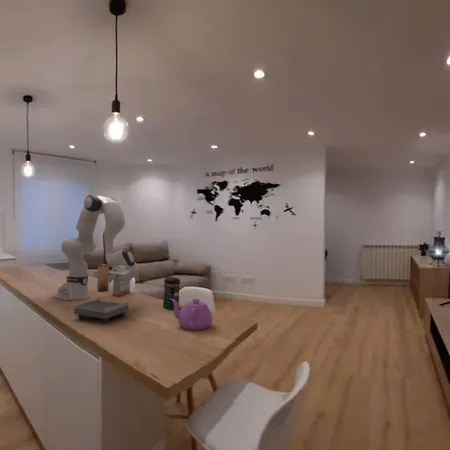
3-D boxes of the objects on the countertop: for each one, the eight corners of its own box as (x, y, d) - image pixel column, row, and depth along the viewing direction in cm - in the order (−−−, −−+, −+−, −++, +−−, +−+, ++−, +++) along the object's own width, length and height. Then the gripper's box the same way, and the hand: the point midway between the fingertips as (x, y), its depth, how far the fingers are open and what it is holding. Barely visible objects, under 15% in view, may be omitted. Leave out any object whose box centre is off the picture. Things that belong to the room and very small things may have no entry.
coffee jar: (160, 307, 202) (161, 276, 202) (171, 305, 208) (172, 275, 208) (171, 310, 196) (172, 278, 196) (181, 308, 202) (182, 277, 202)
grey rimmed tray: (73, 319, 171) (74, 304, 171) (98, 311, 188) (98, 297, 188) (105, 324, 165) (106, 309, 165) (128, 315, 182) (128, 302, 182)
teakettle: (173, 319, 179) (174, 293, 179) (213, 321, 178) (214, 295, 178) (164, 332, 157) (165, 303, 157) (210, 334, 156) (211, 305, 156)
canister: (94, 291, 175) (95, 264, 175) (102, 289, 180) (103, 263, 180) (103, 292, 173) (104, 265, 173) (110, 290, 178) (111, 264, 178)
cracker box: (120, 296, 226) (121, 265, 226) (112, 295, 227) (113, 265, 227) (130, 292, 240) (131, 263, 239) (122, 291, 241) (123, 262, 241)
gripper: (104, 266, 192) (86, 269, 179) (134, 269, 185) (118, 272, 172) (103, 277, 192) (86, 281, 179) (133, 280, 185) (117, 284, 172)
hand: (102, 277), depth 176 cm, fingers closed on canister, 6 cm apart
